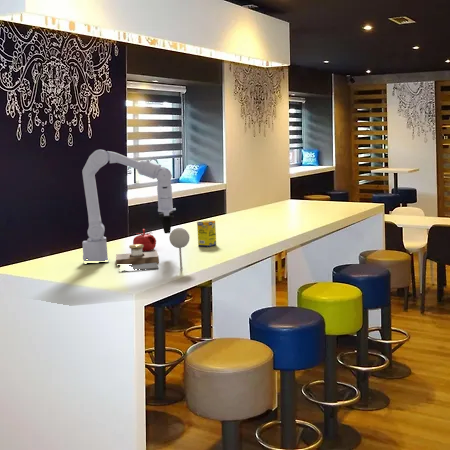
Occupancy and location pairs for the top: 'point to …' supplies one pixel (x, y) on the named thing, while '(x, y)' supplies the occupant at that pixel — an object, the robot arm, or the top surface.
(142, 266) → the mat
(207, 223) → the supplement box
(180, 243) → the lollipop
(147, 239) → the pomegranate
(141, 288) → the top surface
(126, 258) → the housing
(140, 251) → the gold rounded piece
